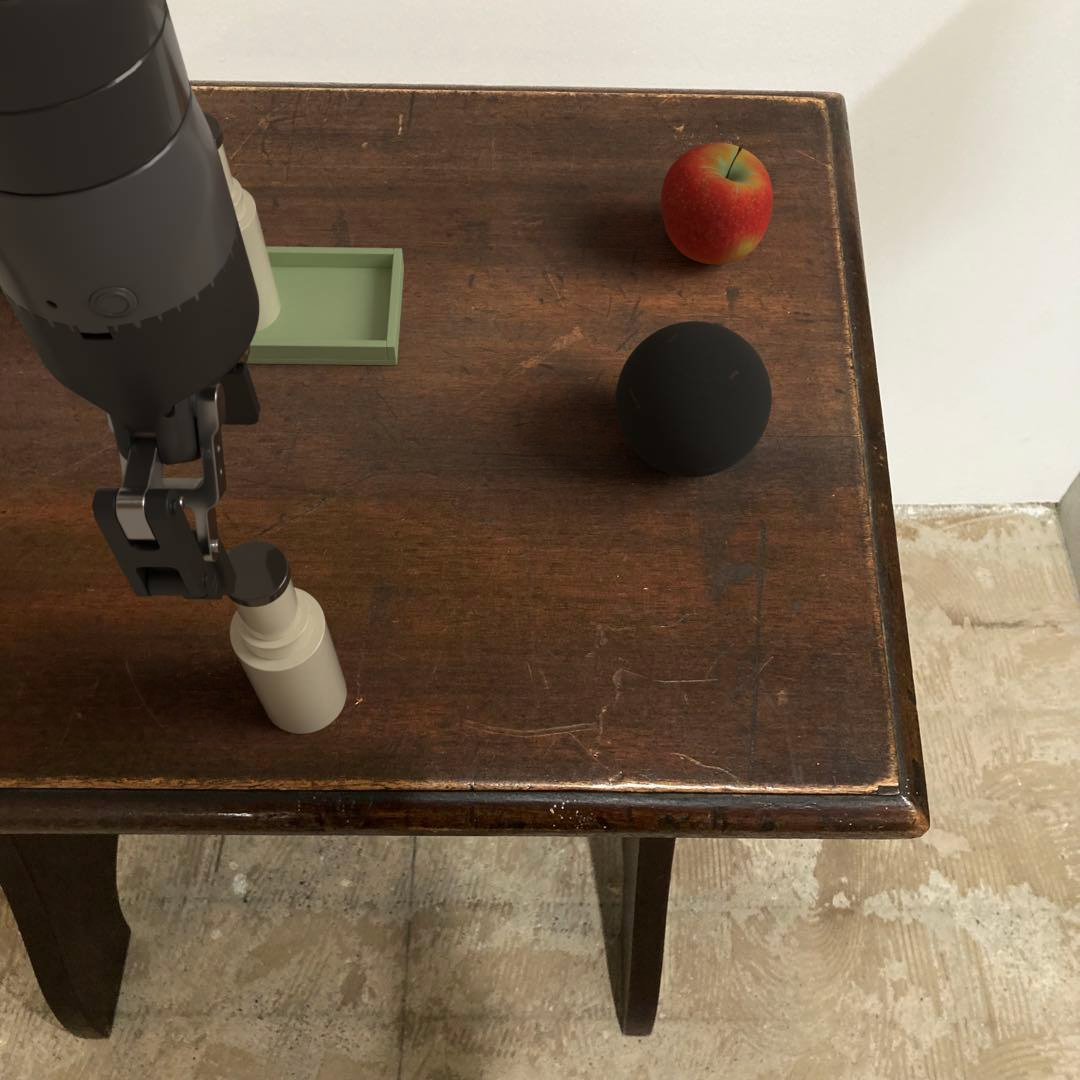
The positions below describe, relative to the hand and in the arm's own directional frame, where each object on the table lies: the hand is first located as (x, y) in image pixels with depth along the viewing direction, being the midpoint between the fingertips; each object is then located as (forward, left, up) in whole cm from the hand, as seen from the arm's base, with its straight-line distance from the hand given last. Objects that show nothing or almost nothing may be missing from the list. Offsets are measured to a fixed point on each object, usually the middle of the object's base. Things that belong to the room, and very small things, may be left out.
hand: (224, 500), depth 50 cm
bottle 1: (-7, +30, -22) cm, 37 cm away
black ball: (+24, +19, -22) cm, 38 cm away
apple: (+27, +37, -22) cm, 51 cm away
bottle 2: (0, 0, -22) cm, 22 cm away
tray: (-7, +30, -22) cm, 38 cm away
